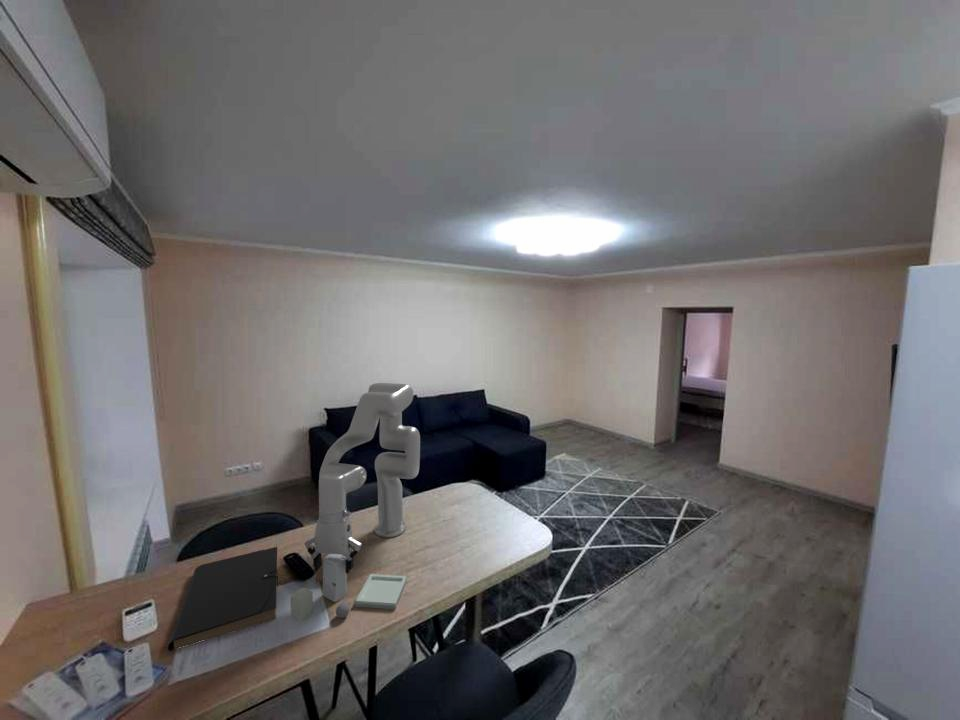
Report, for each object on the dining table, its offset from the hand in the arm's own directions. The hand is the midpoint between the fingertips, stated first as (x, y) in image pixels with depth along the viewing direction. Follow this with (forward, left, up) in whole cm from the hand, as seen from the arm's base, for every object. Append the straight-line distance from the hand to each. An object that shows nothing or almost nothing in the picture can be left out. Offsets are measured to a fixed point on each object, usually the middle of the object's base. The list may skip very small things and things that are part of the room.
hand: (333, 569), depth 114 cm
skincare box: (-1, 0, -9) cm, 9 cm away
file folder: (+2, -31, -9) cm, 32 cm away
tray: (-3, +14, -9) cm, 17 cm away
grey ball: (+7, +6, -9) cm, 13 cm away
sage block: (+7, -6, -9) cm, 13 cm away
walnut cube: (-9, -7, -9) cm, 14 cm away
